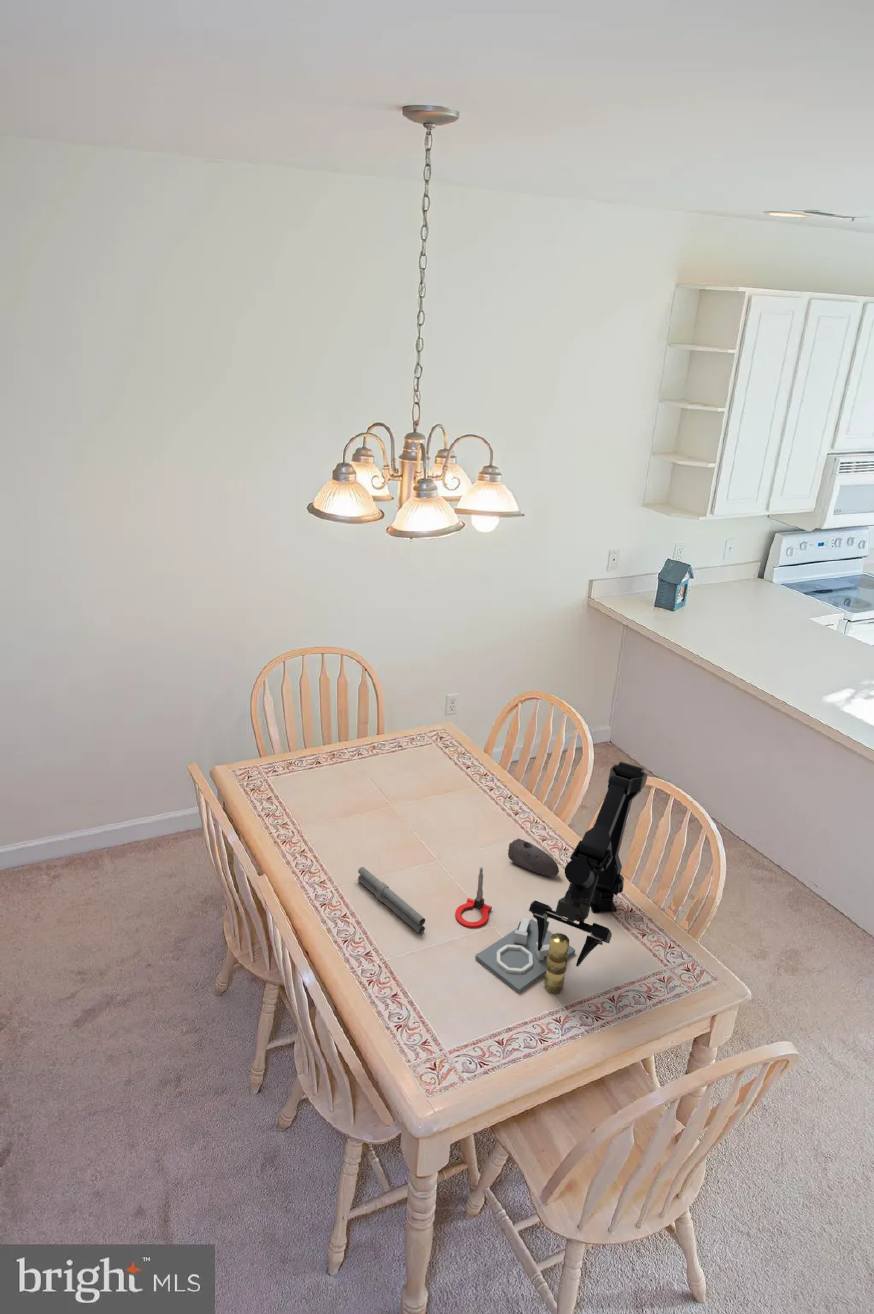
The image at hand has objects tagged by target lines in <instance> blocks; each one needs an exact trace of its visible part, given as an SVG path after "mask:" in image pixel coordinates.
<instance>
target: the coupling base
mask: <svg viewBox="0 0 874 1314" xmlns="http://www.w3.org/2000/svg"><path fill="white" fill-rule="evenodd" d="M553 934H554V933H553V932H551V931H550V930H548V929H547V933H546V936H545V939H544V943H543V946H542V948H541V950H540V951H538V924H537V920H536V921H535V920H534V919H533V918H531V919H529V918H526V917H525V918H524V917H522V919H521V921H519V923H518V925H517V928H516V929H513V930H512V931H511V932H509V933H508V934H506V935H504V936H503V937H502V938H500V939H498V940H497V941H496V942H493V943H492V944H490V945H489V946H487V947H486V948H485V949H483V950H481V951H480V952H478V953H477V954H475V960H476V961H477V962H478V963H479V964H481V966H483V967H484V968H486V970H488V971H489V972H490V973H492V974H493V975H494V976H495V977H497V978H498V979H499V980H501V981H502V982H503V983H504V984H506V985H507V986H508V987H509V988H510V989H512V990H513V991H514V992H516V993H517V994H520V993H522V992H523V991H524V990H526V989H528V987H529V988H530V986H531V985H533V984H535V982H536V983H537V981H538V980H540V979H541V978H543V976H546V969H547V968H546V961H547V954H548V952H549V946H550V938H551V936H552V935H553ZM574 954H576V949H575V948H574V947H573V946H571V945H570V944H569V948H568V955H567V956H568V959H569V958H570V957H572V956H573V955H574Z"/></svg>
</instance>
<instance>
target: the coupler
mask: <svg viewBox="0 0 874 1314" xmlns="http://www.w3.org/2000/svg"><path fill="white" fill-rule="evenodd" d="M569 945H570V938H569V937H568V936H567V935H566V934H563V933H559V932H558V933H557V932H556V933H553V935H552V936H551V938H550V946H549V952H548V954H547V961H546V968H547V969H546V974H545V978H544V987H543V988H544V990H545V991H546V992H547V993H549V994H551V995H558V994H561V993H562V991H563V988H564V982H565V976H566V975H565V974H566V971H567V967H568V966H567V965H568V960H569V958H568V956H567V955H568V948H569Z"/></svg>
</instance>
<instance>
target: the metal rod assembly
mask: <svg viewBox="0 0 874 1314" xmlns="http://www.w3.org/2000/svg"><path fill="white" fill-rule="evenodd" d="M358 875H359V876H358V877H357V880H358V881H359V882H360V883H361V884H362V885H363V886H364V887H365V888H367V889H368V890H369V891H370V892H371V893H372V894H374V896H376V899H378V900H379V901H380V902H381V903H382V904H384V905H386V906H387V908H389V909H390V910H391V911H393V912H394V913H395V914H396V915H397V916H398V917H399V918H401V920H403V921H404V922H406V924H407V925H408V926H410V928H412V929H413V930H414V931H416V932H417V933H418V934H419V935H421V934H423V933H424V932H425V930H426V927H425V926H424V924H425V923H426V918H425V917H423V916H422V915H421V914H420V913H419V912H418V911H416V910H415V909H414V908H413V907H412V906H411V905H409V904H408V903H407V902H406V901H405V900H403V899H402V898H401V897H400V896H399V895H398V894H396V893H395V892H394V891H393V890H392V889H390V886H389V885H387V884H386V883H385V882H384V881H380V880H379V878H377V877H376V876H375V875H374V874H372V873H371V872H370V871H369V870H368V869H366V868H365V867H364V866H361V867H359V869H358Z"/></svg>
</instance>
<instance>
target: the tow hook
mask: <svg viewBox="0 0 874 1314" xmlns="http://www.w3.org/2000/svg"><path fill="white" fill-rule="evenodd" d="M483 869H484V868H483V866H479V873H478V875H477V876H478V879H477V881H478V882H477V890H476V897H475V898H474V899H472V898H470V897H468V898H467V899H466V902H465V903H463V904H460V905H459V906H458V907H457V908H456V909H455V914H454V916H455V917H454V918H455V920H456V922H457V923H458V924H460V925H461V926H463V927H465V928H468V929H478V928H481V927H483V926H485V925H486V924H487V923H488V921H489V913H490V912H492V908H493V907H492V906H491V905H488V904H485V898H483V896H484V893H483V892H484V891H483V885H484V873H483ZM473 908H477V909H480V914H481V918H480V919H479V920H477V921H468V920H466V919H464V918H463V916H462V913H463V912H464V911H466V910H468V909H469V910H470V909H471V910H472V909H473Z"/></svg>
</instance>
